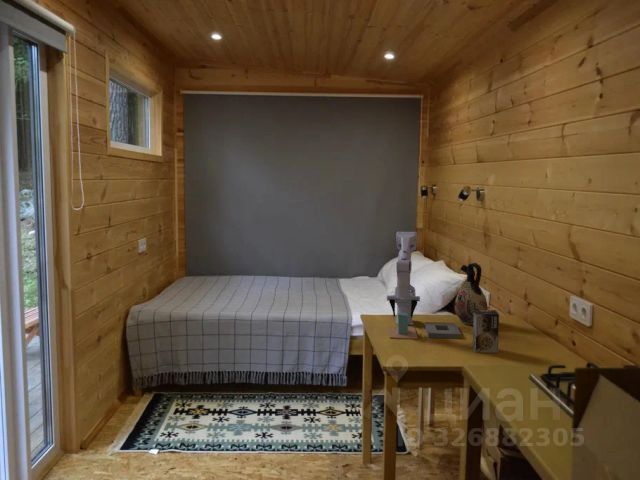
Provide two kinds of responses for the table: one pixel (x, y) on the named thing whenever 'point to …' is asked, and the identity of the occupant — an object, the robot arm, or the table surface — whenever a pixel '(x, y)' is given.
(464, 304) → the ceramic jug
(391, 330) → the terracotta tile
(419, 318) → the table surface
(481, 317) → the coffee box
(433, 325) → the pocket board
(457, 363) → the table surface
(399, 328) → the teal block
